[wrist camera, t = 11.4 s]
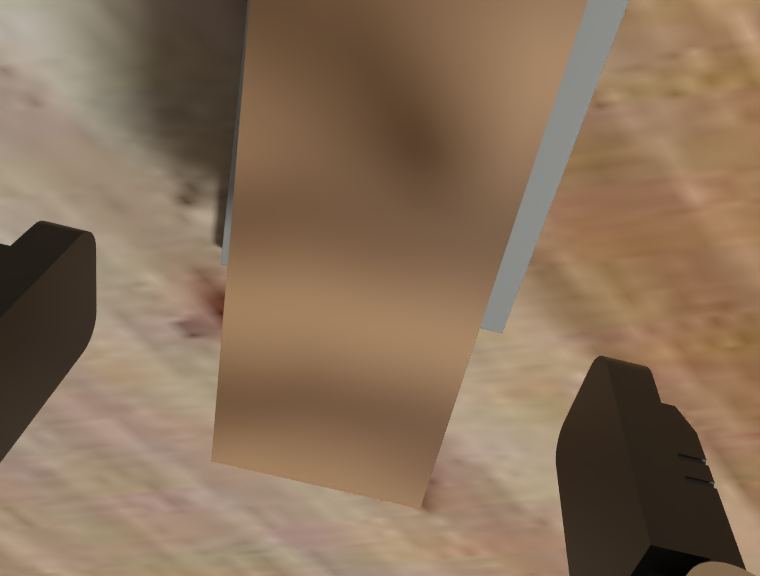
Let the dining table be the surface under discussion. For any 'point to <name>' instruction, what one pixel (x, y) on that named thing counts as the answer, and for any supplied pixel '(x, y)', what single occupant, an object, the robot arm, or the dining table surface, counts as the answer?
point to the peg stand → (550, 161)
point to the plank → (373, 225)
